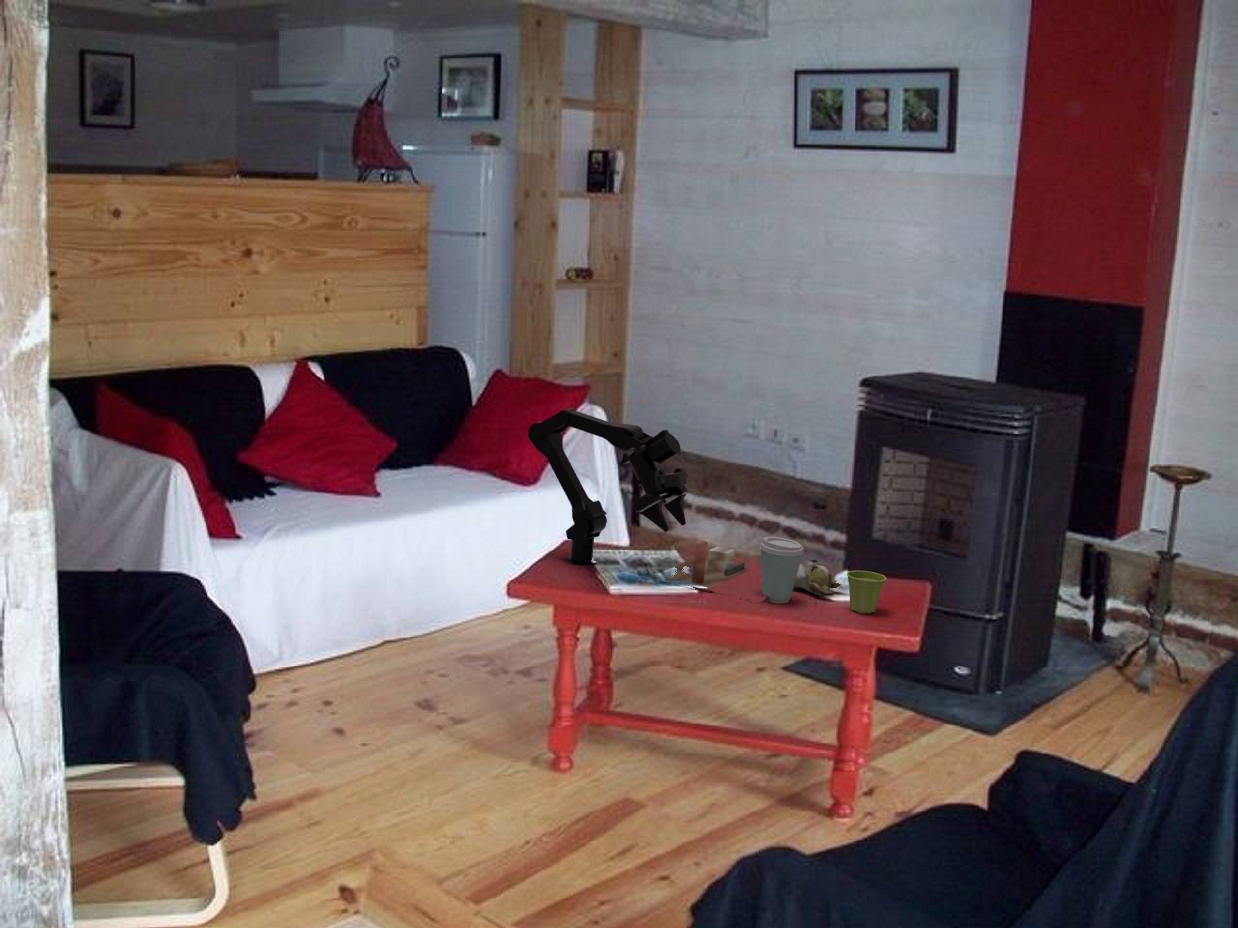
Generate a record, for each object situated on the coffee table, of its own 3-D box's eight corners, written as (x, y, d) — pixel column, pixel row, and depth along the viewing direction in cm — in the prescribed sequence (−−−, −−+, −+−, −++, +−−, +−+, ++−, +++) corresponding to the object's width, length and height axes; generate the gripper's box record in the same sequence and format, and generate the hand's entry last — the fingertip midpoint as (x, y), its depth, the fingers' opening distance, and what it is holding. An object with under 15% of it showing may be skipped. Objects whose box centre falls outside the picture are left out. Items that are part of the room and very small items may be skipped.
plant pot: (840, 603, 348) (844, 568, 347) (879, 606, 348) (883, 572, 347) (845, 614, 339) (849, 578, 338) (884, 617, 339) (889, 582, 337)
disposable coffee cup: (785, 593, 353) (791, 534, 350) (806, 606, 343) (813, 545, 341) (747, 594, 349) (753, 534, 347) (767, 607, 340) (773, 546, 337)
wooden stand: (652, 579, 355) (656, 535, 353) (695, 561, 375) (699, 520, 373) (710, 592, 347) (714, 547, 345) (750, 573, 368) (755, 531, 366)
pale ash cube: (707, 568, 364) (709, 549, 363) (715, 565, 369) (717, 546, 368) (725, 572, 362) (726, 553, 361) (733, 569, 366) (735, 550, 365)
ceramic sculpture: (798, 548, 363) (853, 563, 356) (793, 581, 365) (847, 596, 358) (780, 556, 354) (836, 572, 347) (775, 589, 356) (830, 605, 349)
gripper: (654, 462, 343) (683, 519, 341) (689, 452, 359) (717, 508, 357) (619, 482, 349) (648, 539, 347) (655, 472, 365) (683, 527, 363)
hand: (675, 527), depth 353 cm, fingers open, 9 cm apart
